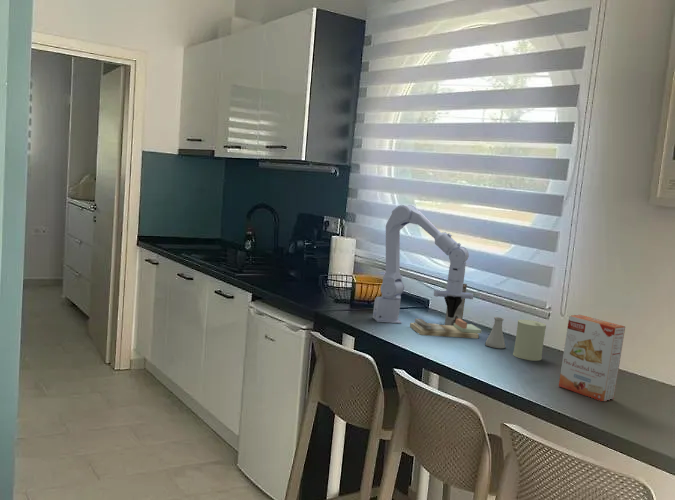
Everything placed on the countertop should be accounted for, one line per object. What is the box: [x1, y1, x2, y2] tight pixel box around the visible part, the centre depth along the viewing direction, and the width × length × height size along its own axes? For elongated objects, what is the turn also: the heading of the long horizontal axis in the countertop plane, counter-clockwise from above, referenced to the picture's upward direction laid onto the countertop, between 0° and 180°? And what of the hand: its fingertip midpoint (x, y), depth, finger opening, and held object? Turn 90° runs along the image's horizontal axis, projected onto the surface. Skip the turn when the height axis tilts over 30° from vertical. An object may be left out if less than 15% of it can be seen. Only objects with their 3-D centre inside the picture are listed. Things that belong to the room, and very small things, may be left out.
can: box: [512, 319, 547, 362], centre depth 228 cm, size 9×9×12 cm
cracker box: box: [558, 314, 626, 402], centre depth 192 cm, size 14×6×21 cm, turn 40°
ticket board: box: [409, 318, 480, 339], centre depth 252 cm, size 22×12×3 cm, turn 101°
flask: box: [484, 316, 506, 350], centre depth 239 cm, size 7×7×10 cm
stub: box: [454, 319, 482, 334], centre depth 254 cm, size 7×9×3 cm
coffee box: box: [444, 283, 467, 326], centre depth 267 cm, size 9×6×16 cm
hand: (450, 317), depth 252 cm, fingers closed
